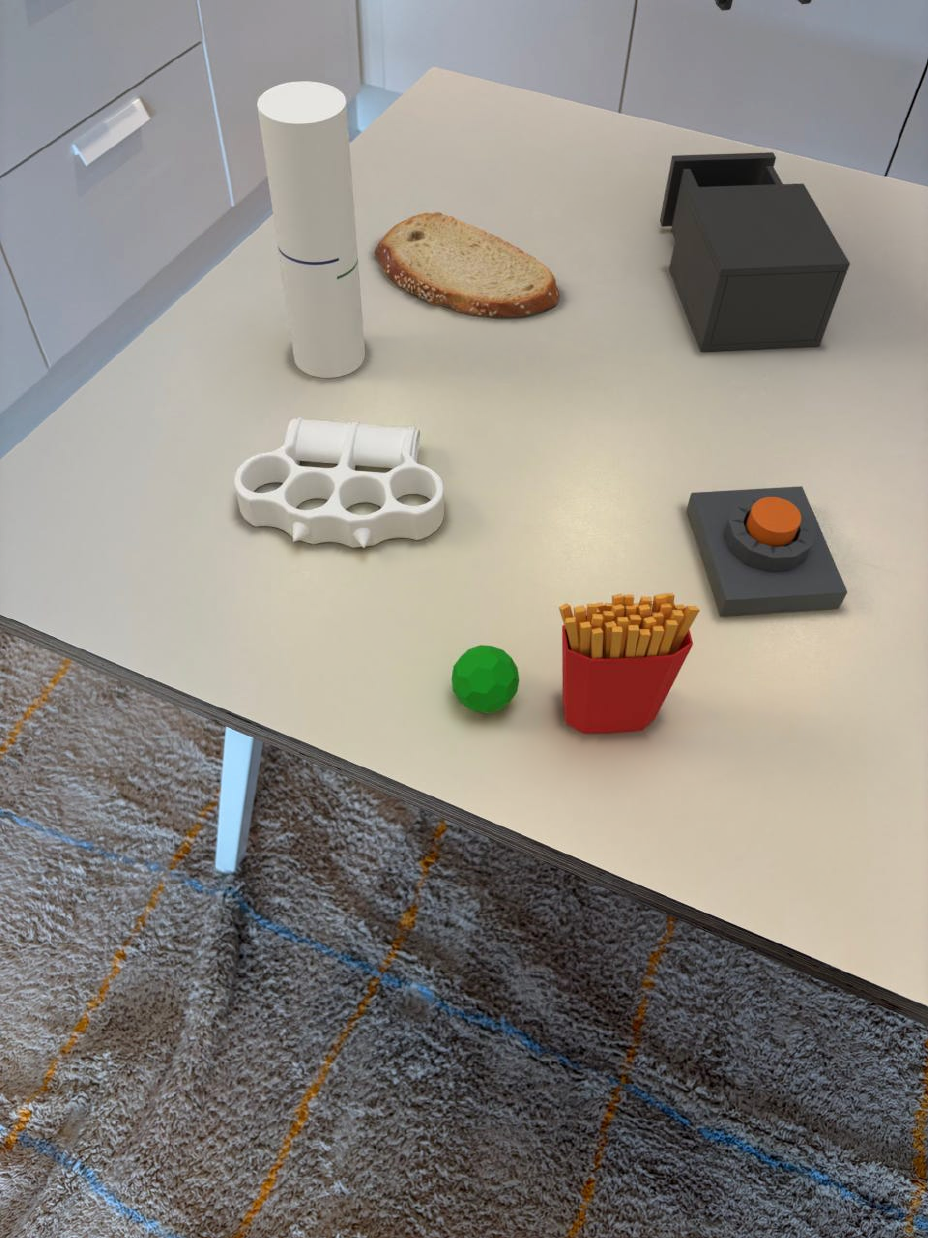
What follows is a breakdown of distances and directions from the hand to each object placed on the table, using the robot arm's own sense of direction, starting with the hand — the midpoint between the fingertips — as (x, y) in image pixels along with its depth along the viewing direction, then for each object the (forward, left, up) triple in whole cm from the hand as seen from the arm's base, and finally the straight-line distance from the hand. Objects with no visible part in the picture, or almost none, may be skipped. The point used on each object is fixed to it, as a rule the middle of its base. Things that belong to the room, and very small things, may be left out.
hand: (762, 3), depth 97 cm
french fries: (+25, +65, -24) cm, 73 cm away
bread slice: (+30, +8, -24) cm, 39 cm away
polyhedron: (+34, +63, -24) cm, 75 cm away
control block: (+9, +51, -24) cm, 56 cm away
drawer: (+1, +5, -23) cm, 23 cm away
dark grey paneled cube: (+1, +16, -24) cm, 28 cm away
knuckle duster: (+44, +41, -24) cm, 64 cm away
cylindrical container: (+45, +21, -24) cm, 55 cm away
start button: (+9, +51, -20) cm, 55 cm away
